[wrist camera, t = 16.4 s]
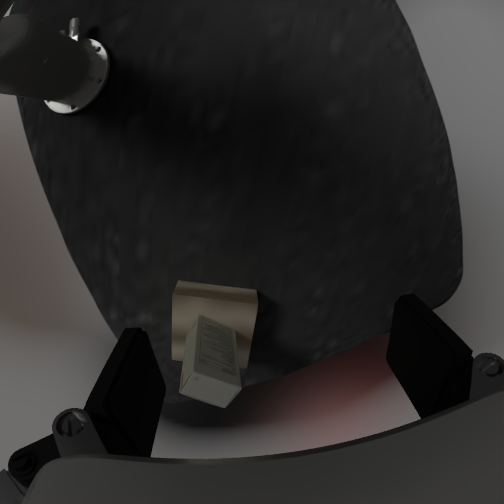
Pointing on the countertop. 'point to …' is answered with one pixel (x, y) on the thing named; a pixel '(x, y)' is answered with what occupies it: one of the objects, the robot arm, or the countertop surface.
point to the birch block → (213, 314)
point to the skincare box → (210, 363)
